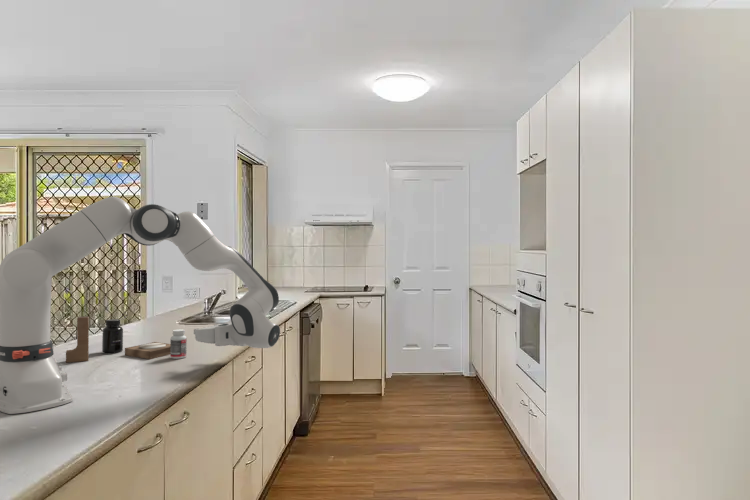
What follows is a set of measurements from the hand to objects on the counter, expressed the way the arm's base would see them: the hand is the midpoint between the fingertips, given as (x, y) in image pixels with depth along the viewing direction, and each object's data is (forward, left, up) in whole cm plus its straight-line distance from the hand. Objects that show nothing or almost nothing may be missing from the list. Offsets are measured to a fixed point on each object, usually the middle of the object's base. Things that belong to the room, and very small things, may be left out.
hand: (205, 329), depth 175 cm
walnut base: (+24, +7, -11) cm, 28 cm away
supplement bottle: (+38, +16, -11) cm, 42 cm away
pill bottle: (+12, +4, -11) cm, 17 cm away
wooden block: (+32, +30, -11) cm, 45 cm away
